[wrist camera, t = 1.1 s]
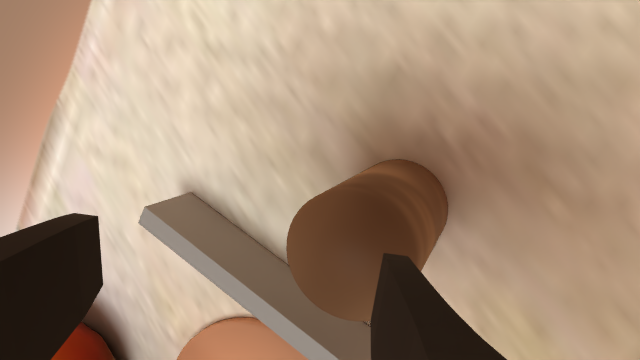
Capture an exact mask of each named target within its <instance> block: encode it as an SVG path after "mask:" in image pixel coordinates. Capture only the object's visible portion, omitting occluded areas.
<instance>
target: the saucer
mask: <svg viewBox="0 0 640 360" xmlns="http://www.w3.org/2000/svg"><path fill="white" fill-rule="evenodd" d="M177 360H309V359H307V358H306V357H305V356H304V355H302V354H301V353H300V352H299V351H297V350H296V349H295V348H294V347H292V346H291V345H290V344H289V343H287V342H286V341H285V340H284V339H282V338H281V337H280V336H279V335H277V334H276V333H275V332H274V331H272V330H271V329H270V328H269V327H267V326H266V325H265V324H264V323H262V322H261V321H260V320H259V319H255V318H231V319H225V320H222V321H219V322H216V323H214V324H212V325H210V326H209V327H207V328H205V329H204V330H203V331H201V332H200V333H199V334H198V335H196V336H195V337H194V338H193V339H191V340H190V341H189V342H188V343H187V344H186V346H185V347H184V348H183V349H182V351H181V353H180V354H179V356H178V358H177Z"/></svg>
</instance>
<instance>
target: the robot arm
mask: <svg viewBox="0 0 640 360" xmlns="http://www.w3.org/2000/svg"><path fill="white" fill-rule="evenodd" d="M102 286H103V277H102V264H101V250H100V236H99V223H98V216H92V215H85V214H77V213H73V214H68V215H64V216H61V217H58V218H54V219H51V220H48V221H45V222H42V223H39V224H36V225H34V226H31V227H28V228H25V229H22V230H20V231H17V232H14V233H11V234H9V235H6V236H3V237H0V360H51V359H52V358H53V356H54V355H55V354H56V353H57V351H58V350H59V349H60V348H61V346H62V345H63V344H64V343H65V341H66V340H67V339H68V338H69V336H70V335H71V334H72V332H73V331H74V330H75V329H76V327H77V326H78V325H79V323H80V322H81V321H82V320H83V318H84V317H85V315H86V313H87V312H88V310H89V308H90V307H91V305H92V304H93V302H94V300H95V298H96V296H97V295H98V293H99V291H100V289H101V288H102ZM371 360H507V359H506V358H504V357H503V356H502V355H501V354H500V353H499V352H497V351H496V350H495V349H494V348H493V347H491V346H490V345H489V344H488V343H487V342H486V341H484V340H483V339H482V338H481V337H480V336H479V335H478V334H477V333H476V332H475V331H474V330H473V329H472V328H471V327H470V326H469V325H468V324H467V323H466V322H465V321H464V320H463V319H462V318H461V317H460V316H459V315H458V314H457V313H456V312H455V311H454V310H453V309H452V308H451V307H450V306H449V305H448V304H447V302H446V301H445V300H444V299H443V298H442V297H441V296H440V294H439V293H438V292H437V291H436V290H435V289H434V287H433V286H432V285H431V284H430V283H429V281H428V280H427V279H426V278H425V276H424V275H423V274H422V273H421V272H420V270H419V269H418V268H417V267H416V265H415V264H414V263H413V262H412V260H411V259H410V258H409V257H408V256H403V255H396V254H388V253H383V258H382V263H381V268H380V273H379V279H378V284H377V289H376V294H375V299H374V305H373V310H372V315H371Z"/></svg>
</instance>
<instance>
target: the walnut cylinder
mask: <svg viewBox="0 0 640 360" xmlns="http://www.w3.org/2000/svg"><path fill="white" fill-rule="evenodd" d="M447 215H448V203H447V198H446V195H445V192H444V190H443V187H442V185H441V184H440V182H439V181H438V180H437V178H436V177H435V176H434V175H433V174H432V173H431V172H430V171H429V170H427V169H426V168H424V167H423V166H421V165H419V164H417V163H414V162H411V161H407V160H400V159H399V160H387V161H384V162H381V163H379V164H376V165H374V166H372V167H371V168H369V169H367V170H365V171H363V172H361V173H359V174H357V175H355V176H354V177H352V178H350V179H348V180H346V181H344V182H342V183H340V184H338V185H337V186H335V187H333V188H331V189H329V190H327V191H325V192H323V193H321V194H319V195H318V196H316V197H314V198H312V199H311V200H309V201H308V202H307V203H306V204H305V205H303V206H302V208H301V209H300V210H299V211H298V212H297V214H296V215H295V217H294V219H293V221H292V223H291V225H290V228H289V232H288V237H287V258H288V263H289V267H290V270H291V273H292V275H293V277H294V280H295V281H296V283H297V285H298V286H299V288H300V289H301V291H302V292H303V293H304V295H305V296H306V297H307V298H308V299H309V300H310V301H311V302H312V303H313V304H315V305H316V306H317V307H318V308H320V309H321V310H323V311H324V312H326V313H328V314H330V315H332V316H335V317H337V318H340V319H344V320H348V321H371V315H372V310H373V305H374V299H375V294H376V289H377V284H378V279H379V273H380V268H381V263H382V258H383V253H388V254H396V255H403V256H408V257H409V258H410V259H411V260H412V262H413V263H414V264H415V265H416V267H417V268H418V269H419V270H420V272H421V270H422V268H423V266H424V265H425V263H426V261H427V259H428V257H429V255H430V253H431V251H432V250H433V248H434V246H435V244H436V242H437V240H438V238H439V236H440V235H441V233H442V231H443V229H444V226H445V224H446V220H447Z"/></svg>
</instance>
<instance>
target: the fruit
mask: <svg viewBox="0 0 640 360" xmlns="http://www.w3.org/2000/svg"><path fill="white" fill-rule="evenodd" d="M51 360H116V359H115V358H114V357H113V355H112V353H111V351H110V350H109V348H108V346H107V345H106V343H105V342H104V340H103V338H102V337H101V336H100V335H99V334H98V333H96V332H95V331H93V330H92V329H90V328H89V327H88V326H86V325H85V324H84V323H82V322H80V323H79V325H78V326H77V327H76V329H75V330H74V331H73V332H72V334H71V335H70V336H69V338H68V339H67V340H66V341H65V343H64V344H63V345H62V346H61V348H60V349H59V350H58V351H57V353H56V354H55V355H54V356H53V358H52V359H51Z"/></svg>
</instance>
